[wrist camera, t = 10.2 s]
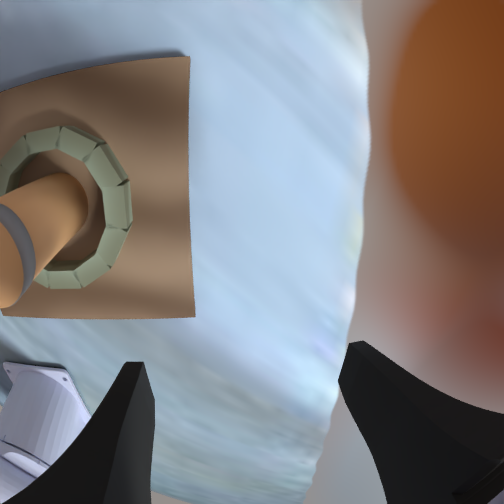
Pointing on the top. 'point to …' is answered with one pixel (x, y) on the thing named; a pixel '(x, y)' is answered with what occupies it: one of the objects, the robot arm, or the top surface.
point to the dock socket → (109, 187)
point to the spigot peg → (36, 229)
